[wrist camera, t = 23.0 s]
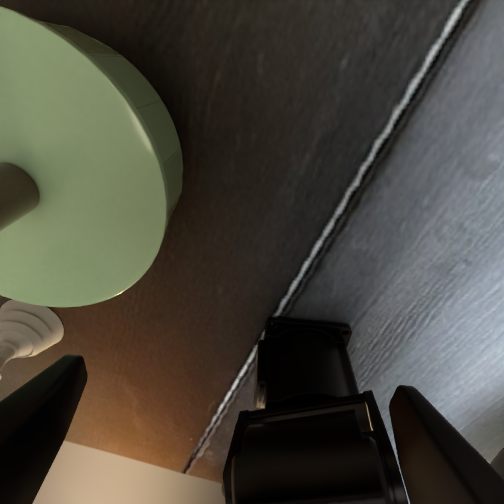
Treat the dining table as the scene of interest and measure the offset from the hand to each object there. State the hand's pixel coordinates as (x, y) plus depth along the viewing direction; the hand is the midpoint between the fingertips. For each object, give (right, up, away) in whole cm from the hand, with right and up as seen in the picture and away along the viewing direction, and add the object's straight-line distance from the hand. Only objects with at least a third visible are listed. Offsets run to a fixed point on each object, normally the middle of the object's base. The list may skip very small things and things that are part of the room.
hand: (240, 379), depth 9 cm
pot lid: (-10, +7, +6) cm, 14 cm away
